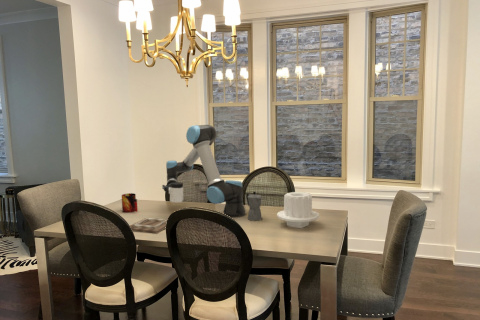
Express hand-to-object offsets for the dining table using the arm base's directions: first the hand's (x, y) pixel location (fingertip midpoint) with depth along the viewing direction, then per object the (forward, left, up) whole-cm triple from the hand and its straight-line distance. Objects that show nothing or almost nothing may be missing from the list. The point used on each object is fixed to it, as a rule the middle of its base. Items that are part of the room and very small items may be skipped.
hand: (171, 191), depth 244 cm
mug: (+41, -14, -19) cm, 47 cm away
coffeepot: (-50, -17, -19) cm, 56 cm away
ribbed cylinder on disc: (-80, -10, -19) cm, 83 cm away
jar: (-1, -4, -8) cm, 9 cm away
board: (+6, +16, -19) cm, 26 cm away
